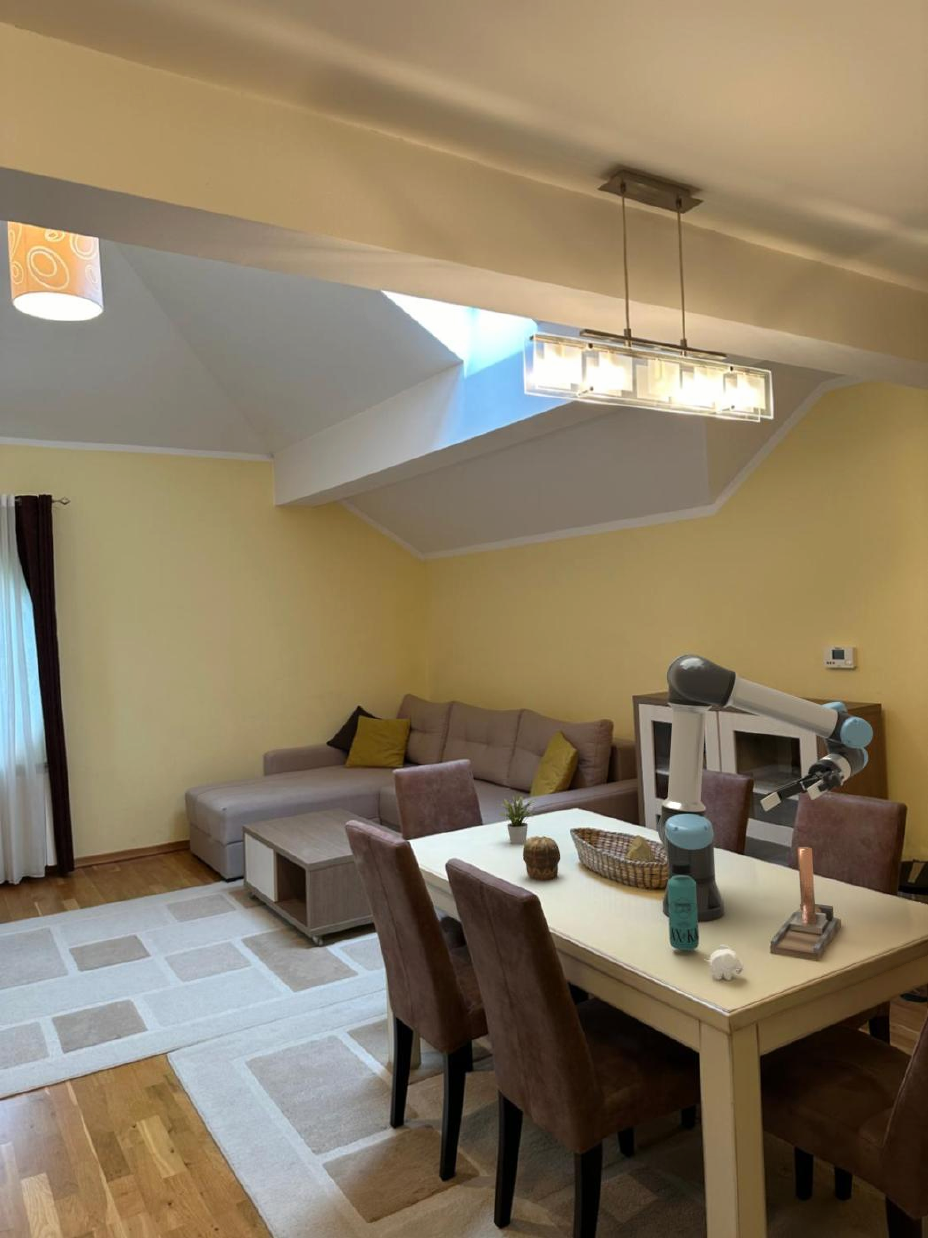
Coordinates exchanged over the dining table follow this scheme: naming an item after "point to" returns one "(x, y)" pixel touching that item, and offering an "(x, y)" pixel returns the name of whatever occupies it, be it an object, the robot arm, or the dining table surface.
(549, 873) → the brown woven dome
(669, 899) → the beverage bottle
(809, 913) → the copper post
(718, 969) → the elephant figurine
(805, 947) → the nutcracker base
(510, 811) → the house plant
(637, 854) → the rock
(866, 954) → the dining table surface
